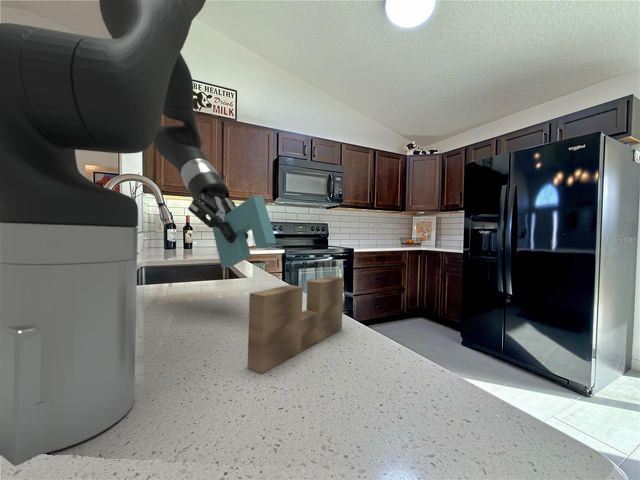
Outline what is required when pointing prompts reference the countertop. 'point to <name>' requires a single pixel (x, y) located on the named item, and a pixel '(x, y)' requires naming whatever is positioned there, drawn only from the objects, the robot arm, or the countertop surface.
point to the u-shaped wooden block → (292, 320)
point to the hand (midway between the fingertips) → (239, 239)
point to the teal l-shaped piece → (241, 221)
